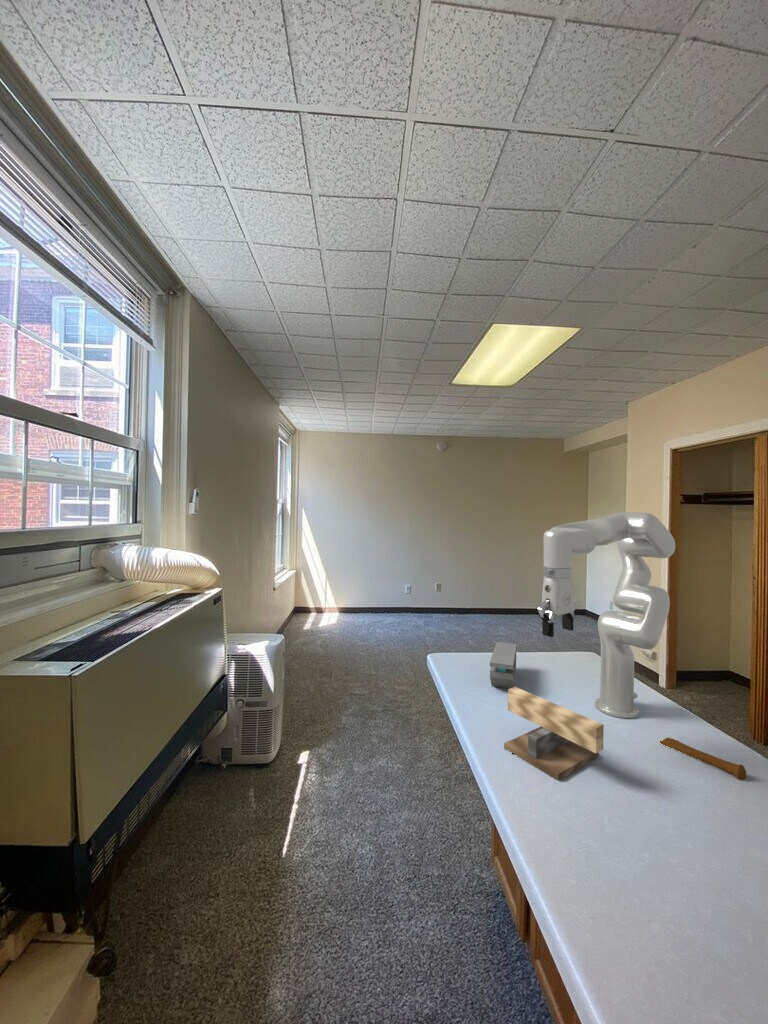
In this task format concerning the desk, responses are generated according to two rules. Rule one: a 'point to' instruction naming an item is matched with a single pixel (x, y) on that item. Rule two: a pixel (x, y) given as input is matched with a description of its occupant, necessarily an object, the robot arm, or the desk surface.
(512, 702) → the oak batten
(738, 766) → the primitive tool
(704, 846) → the desk surface
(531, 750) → the stand
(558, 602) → the robot arm
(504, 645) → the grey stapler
